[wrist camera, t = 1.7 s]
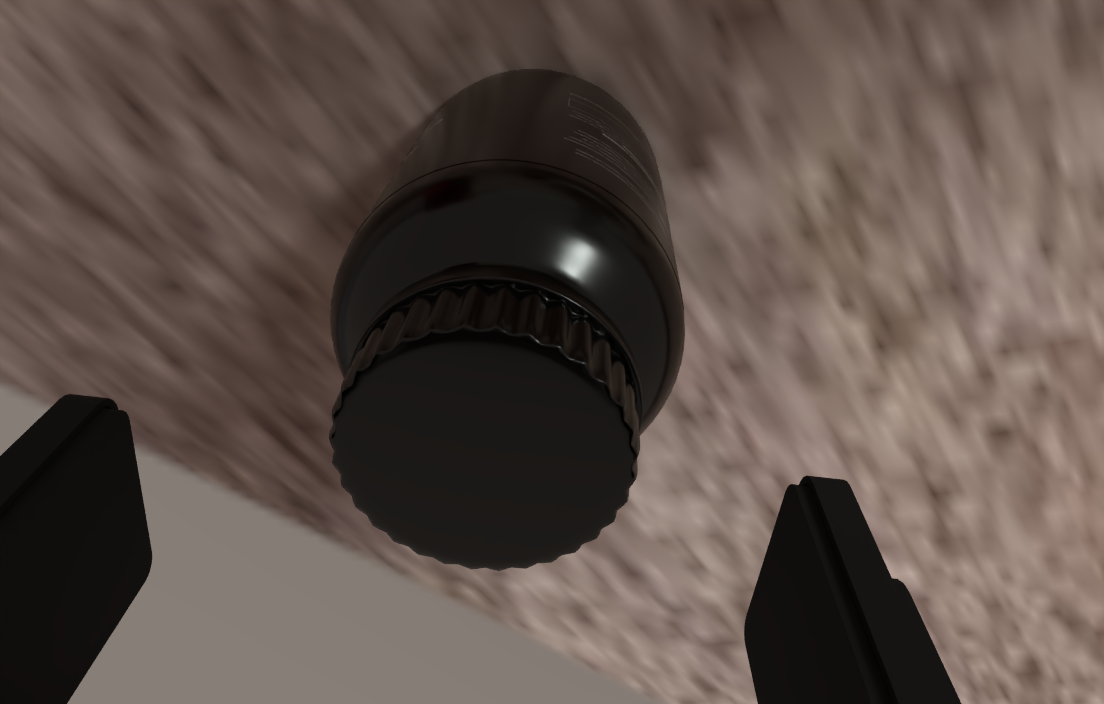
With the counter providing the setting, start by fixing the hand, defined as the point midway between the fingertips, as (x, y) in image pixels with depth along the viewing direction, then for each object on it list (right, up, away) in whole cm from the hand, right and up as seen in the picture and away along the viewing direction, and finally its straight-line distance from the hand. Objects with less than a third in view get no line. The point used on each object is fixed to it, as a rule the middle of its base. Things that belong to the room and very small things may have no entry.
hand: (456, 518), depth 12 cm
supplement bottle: (+1, +7, +11) cm, 13 cm away
